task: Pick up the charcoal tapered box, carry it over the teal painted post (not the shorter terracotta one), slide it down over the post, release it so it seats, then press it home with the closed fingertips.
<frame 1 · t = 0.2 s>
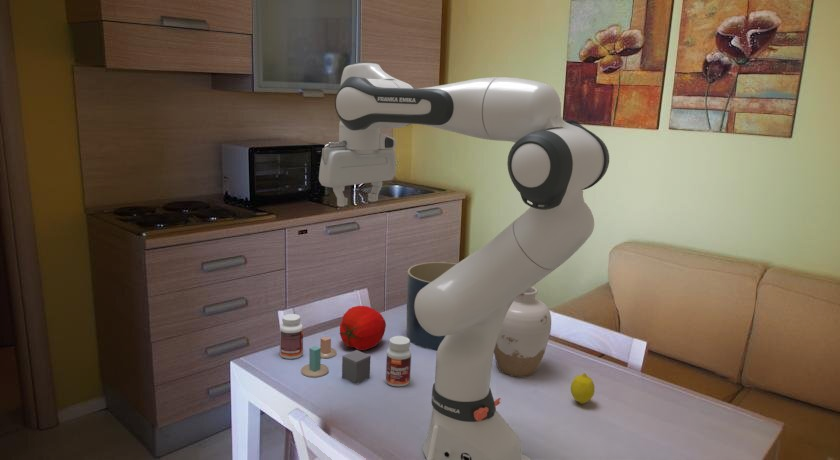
hand: (357, 203, 134), 47 cm above the table, fingers open, 8 cm apart
pill bottle: (291, 355, 166), on the table
fruit: (580, 404, 147), on the table
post: (314, 371, 157), on the table
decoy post: (325, 353, 168), on the table
pill bottle 2: (397, 382, 154), on the table
vase: (516, 369, 164), on the table
charcoal tapered box: (355, 377, 155), on the table
tomato: (361, 346, 174), on the table
planter: (441, 336, 183), on the table
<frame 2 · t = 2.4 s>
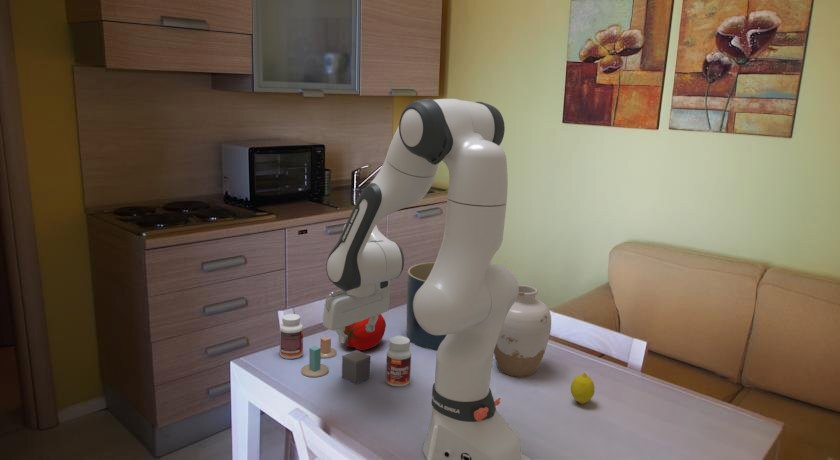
hand: (356, 336, 152), 11 cm above the table, fingers open, 8 cm apart
nothing on the table moved.
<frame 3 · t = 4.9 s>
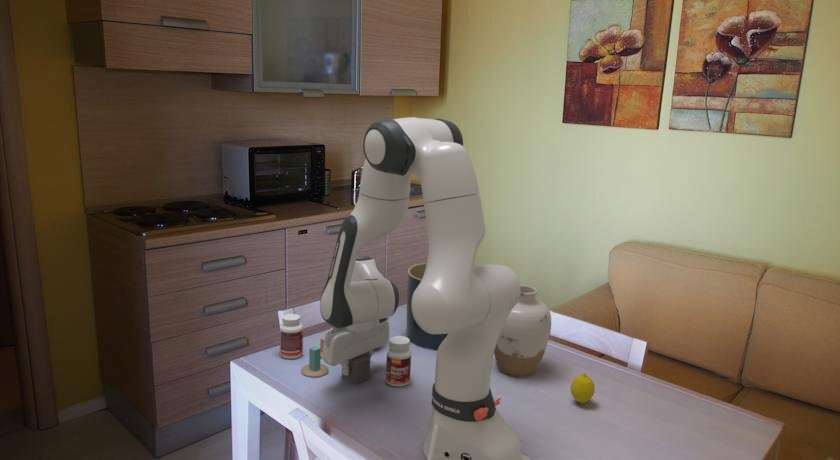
hand: (356, 370, 154), 2 cm above the table, fingers closed on charcoal tapered box, 5 cm apart
charcoal tapered box: (355, 377, 155), on the table, touching gripper
everything else where it was.
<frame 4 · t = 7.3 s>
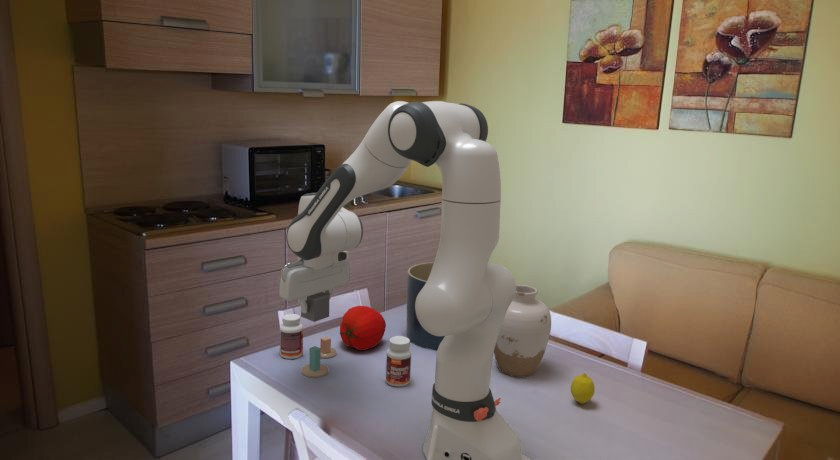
hand: (315, 308, 153), 17 cm above the table, fingers closed on charcoal tapered box, 5 cm apart
charcoal tapered box: (315, 316, 154), point 15 cm above the table, touching gripper
everything else where it was.
when the fingers open (5 cm above the table, at t = 9.8 s): charcoal tapered box drops 1 cm, resting on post.
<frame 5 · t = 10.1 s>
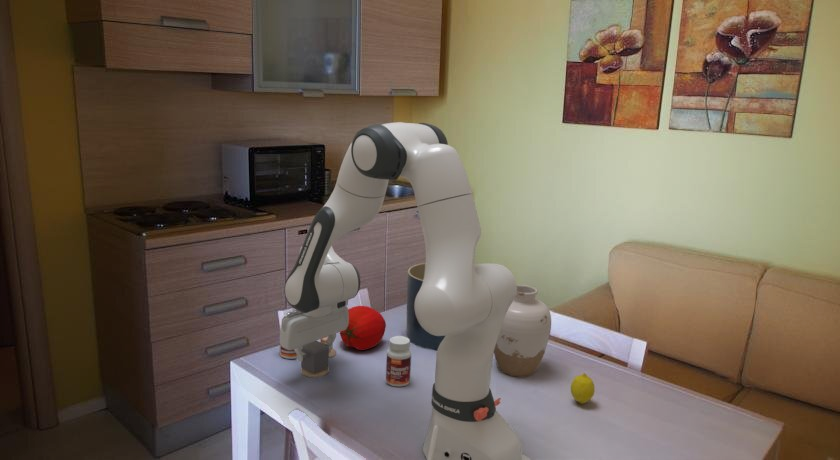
hand: (315, 354, 156), 5 cm above the table, fingers open, 8 cm apart
charcoal tapered box: (314, 367, 157), point 1 cm above the table, touching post
everything else where it was.
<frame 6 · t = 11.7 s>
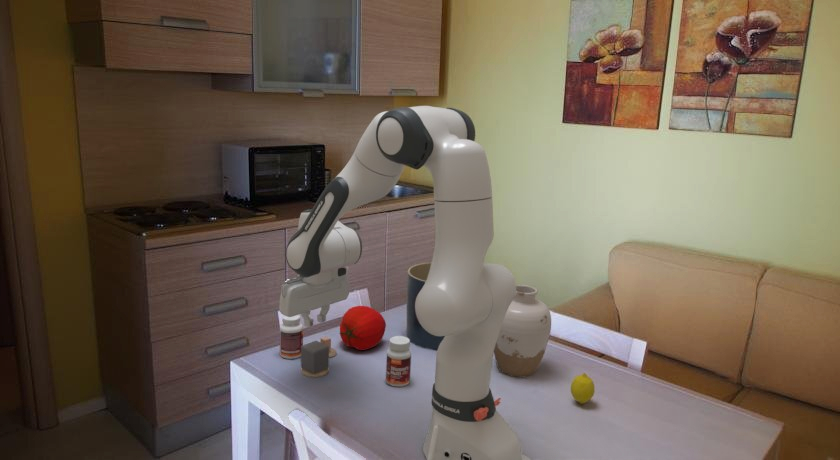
hand: (315, 323, 154), 13 cm above the table, fingers open, 3 cm apart
nothing on the table moved.
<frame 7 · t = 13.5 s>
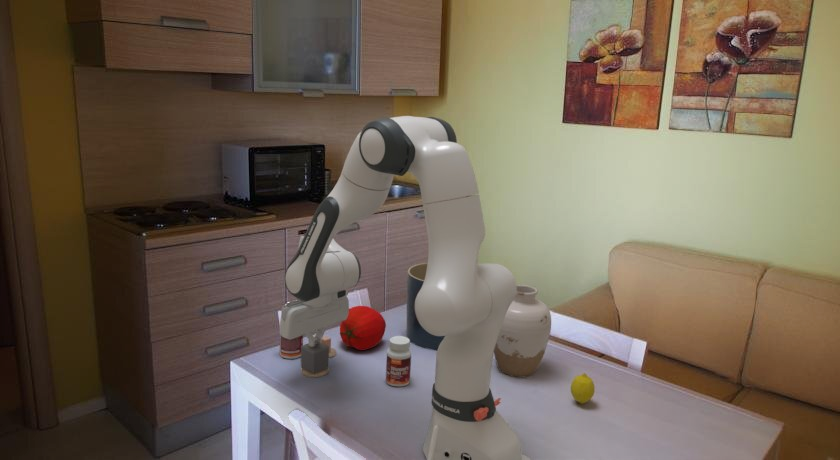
hand: (315, 344, 155), 7 cm above the table, fingers closed
nothing on the table moved.
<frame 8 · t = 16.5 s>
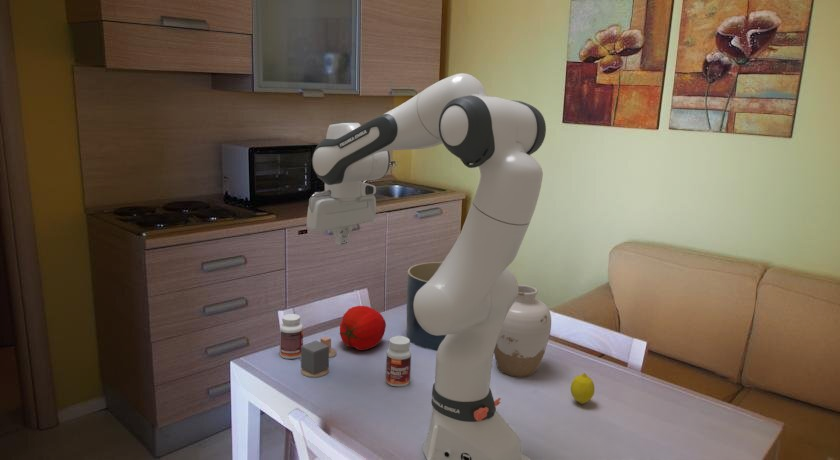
hand: (341, 243, 151), 34 cm above the table, fingers closed
nothing on the table moved.
at the end: charcoal tapered box 0.0 cm from the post (horizontally); charcoal tapered box point 1.0 cm above the table; the gripper is holding nothing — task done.
